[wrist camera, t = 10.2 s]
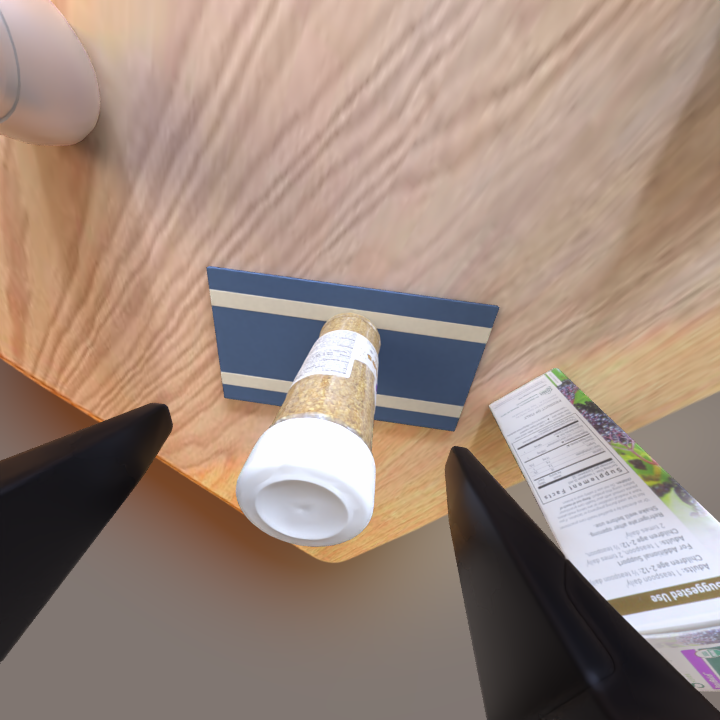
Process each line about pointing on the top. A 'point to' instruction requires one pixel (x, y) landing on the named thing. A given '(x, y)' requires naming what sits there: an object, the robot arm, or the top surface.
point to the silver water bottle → (44, 76)
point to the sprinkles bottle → (319, 444)
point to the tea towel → (383, 308)
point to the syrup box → (621, 520)
